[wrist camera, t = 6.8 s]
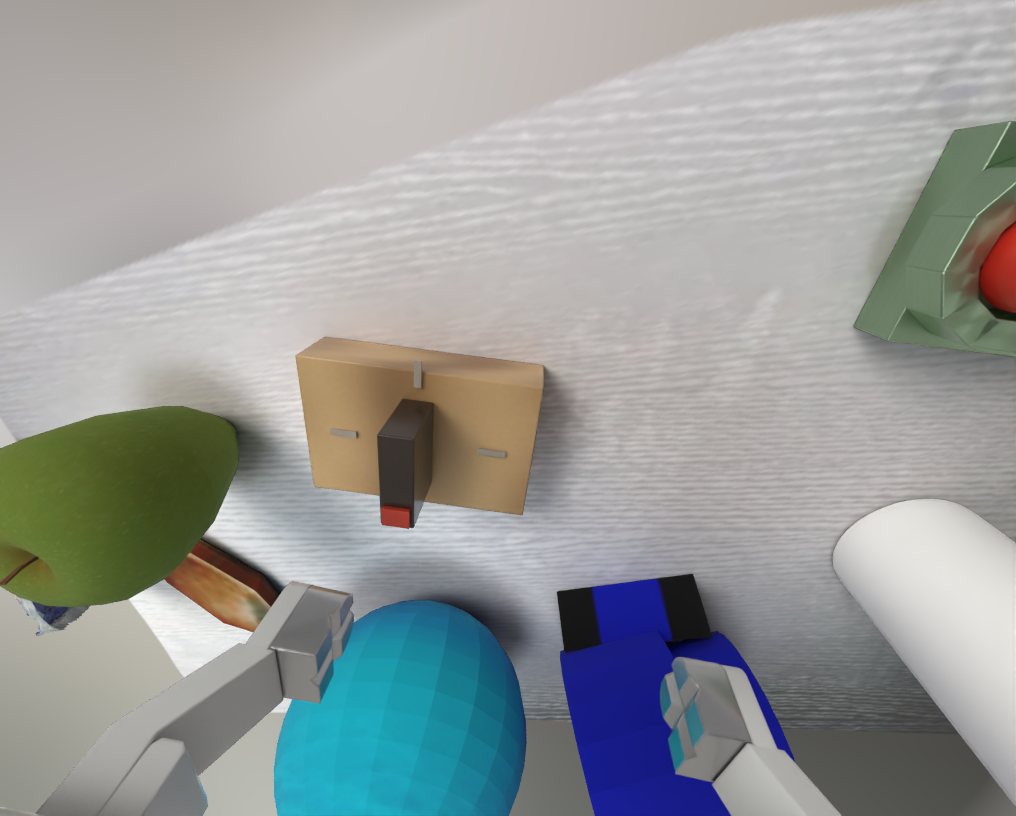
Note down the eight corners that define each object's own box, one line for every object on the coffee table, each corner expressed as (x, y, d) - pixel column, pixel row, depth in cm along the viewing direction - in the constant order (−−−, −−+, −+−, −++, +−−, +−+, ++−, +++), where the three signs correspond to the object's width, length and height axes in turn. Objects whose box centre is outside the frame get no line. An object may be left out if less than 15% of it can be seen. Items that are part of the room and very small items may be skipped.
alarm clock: (548, 592, 30) (552, 905, 17) (725, 569, 28) (892, 913, 14) (581, 687, 35) (605, 984, 22) (733, 674, 33) (862, 999, 20)
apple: (185, 338, 23) (-104, 451, 13) (307, 438, 25) (148, 600, 15) (122, 423, 26) (-152, 569, 16) (236, 505, 28) (64, 677, 18)
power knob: (402, 397, 20) (374, 437, 17) (434, 402, 20) (412, 442, 17) (403, 478, 22) (378, 527, 19) (431, 482, 22) (412, 532, 19)
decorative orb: (524, 684, 36) (513, 973, 22) (357, 667, 36) (250, 936, 23) (536, 562, 29) (530, 876, 16) (329, 544, 30) (155, 828, 16)
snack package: (-2, 574, 21) (58, 660, 28) (134, 496, 27) (157, 584, 33) (-163, 457, 22) (-69, 567, 29) (-2, 405, 28) (46, 508, 34)
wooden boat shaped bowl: (125, 519, 30) (102, 537, 28) (167, 488, 28) (144, 506, 27) (273, 629, 35) (261, 650, 33) (317, 609, 33) (305, 629, 32)
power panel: (545, 354, 22) (545, 377, 19) (523, 490, 26) (521, 525, 23) (323, 325, 22) (291, 344, 19) (338, 464, 26) (313, 497, 23)
